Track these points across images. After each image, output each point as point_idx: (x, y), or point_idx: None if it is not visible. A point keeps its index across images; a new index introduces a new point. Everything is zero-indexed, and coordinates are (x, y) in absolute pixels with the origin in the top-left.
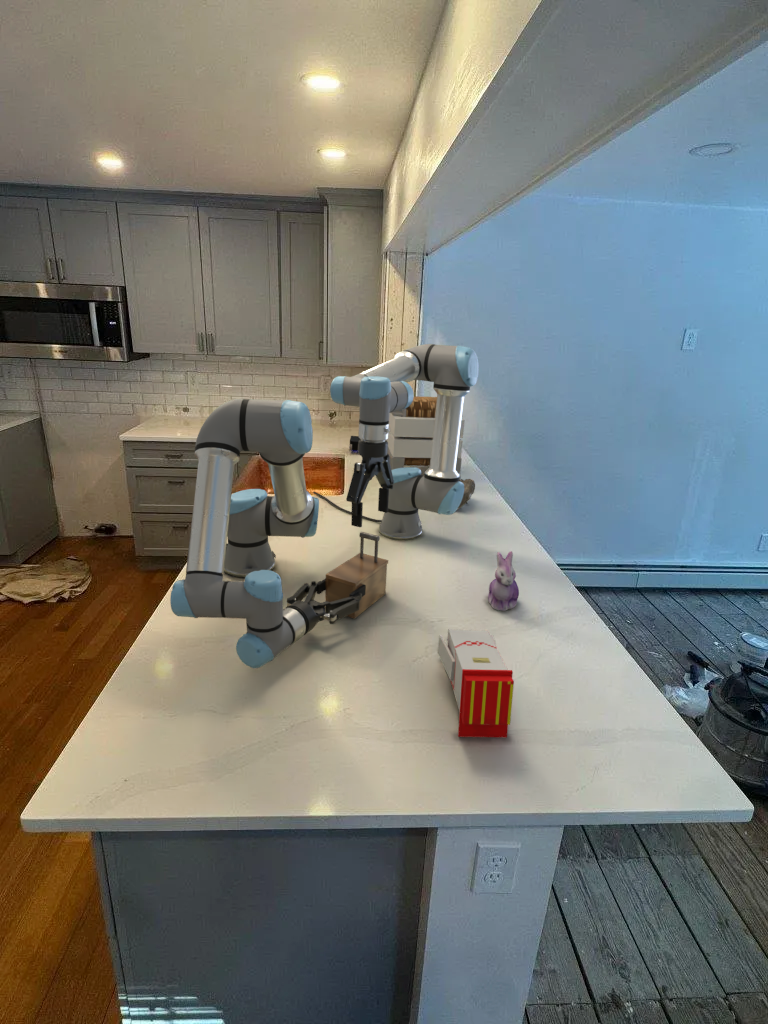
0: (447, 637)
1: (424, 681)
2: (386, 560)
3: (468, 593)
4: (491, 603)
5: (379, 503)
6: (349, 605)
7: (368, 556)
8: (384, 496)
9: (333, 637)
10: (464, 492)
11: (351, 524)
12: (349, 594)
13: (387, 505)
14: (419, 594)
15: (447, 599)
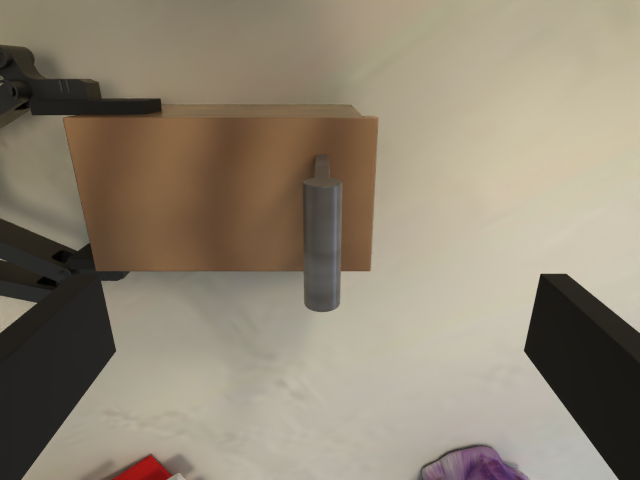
0: (177, 477)
1: (66, 451)
2: (363, 265)
3: (478, 400)
4: (440, 463)
5: (583, 326)
6: (13, 297)
7: (356, 179)
8: (630, 451)
9: (38, 222)
10: None
11: (70, 277)
12: (67, 259)
13: (569, 398)
14: (403, 302)
15: (415, 371)
